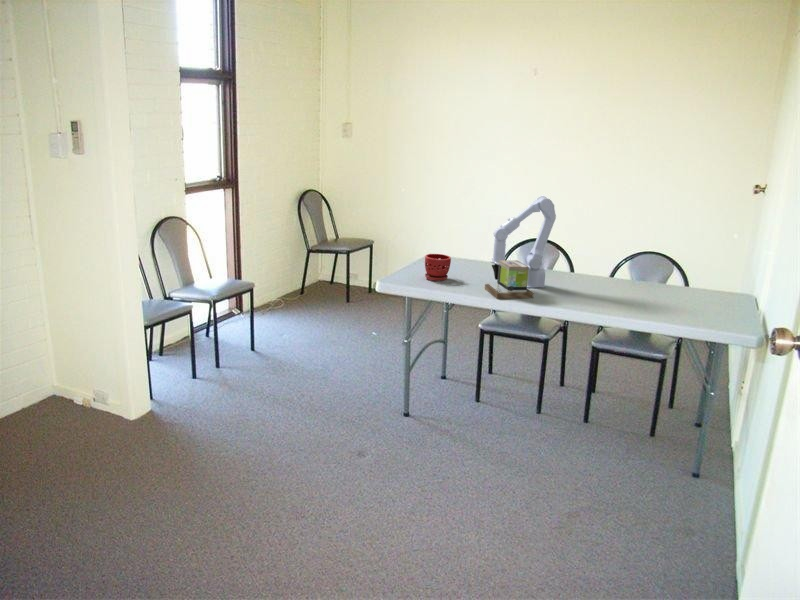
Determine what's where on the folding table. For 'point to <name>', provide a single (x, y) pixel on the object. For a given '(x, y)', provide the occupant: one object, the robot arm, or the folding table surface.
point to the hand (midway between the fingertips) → (497, 279)
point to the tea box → (512, 276)
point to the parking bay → (508, 293)
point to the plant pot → (437, 266)
